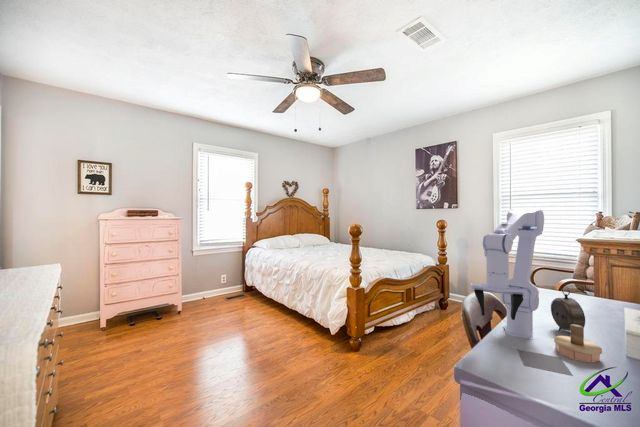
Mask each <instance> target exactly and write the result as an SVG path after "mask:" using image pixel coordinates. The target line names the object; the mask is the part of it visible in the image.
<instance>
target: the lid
mask: <svg viewBox="0 0 640 427" xmlns="http://www.w3.org/2000/svg"><path fill="white" fill-rule="evenodd" d="M584 328H585V326H584V327H582V326H580V325H575V324H571V325H570V335H569V336H568V335H557V336H554V340H553V341H554V343H556V344H557V345H559V346H561V347H563V348H565V349H568V350H571V351H574V352H578V353H582V354H588V355H599V354H600V355H602V354H603V349H602V347H601V346H600V345H598V344H597V343H595V342H592V341H589V340H586V339H585V338H584V337H585V336H584V335H585V331H584Z"/></svg>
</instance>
